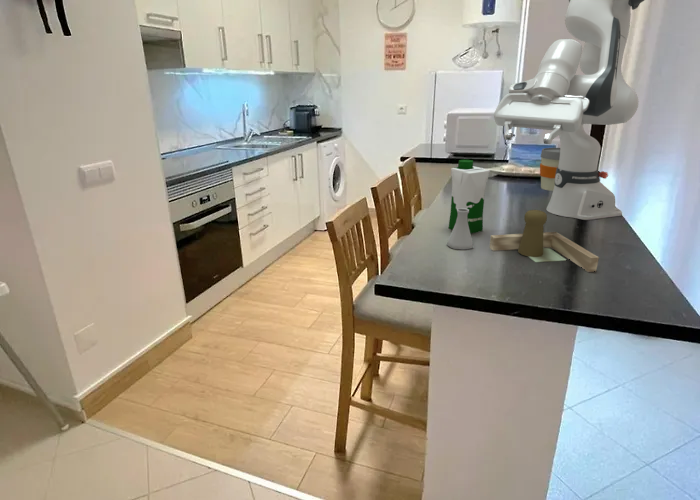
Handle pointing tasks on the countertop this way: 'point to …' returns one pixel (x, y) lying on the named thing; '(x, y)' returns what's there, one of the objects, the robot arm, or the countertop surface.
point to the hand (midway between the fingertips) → (526, 140)
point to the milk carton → (468, 194)
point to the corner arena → (553, 241)
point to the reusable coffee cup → (549, 167)
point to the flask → (461, 232)
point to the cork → (533, 234)
